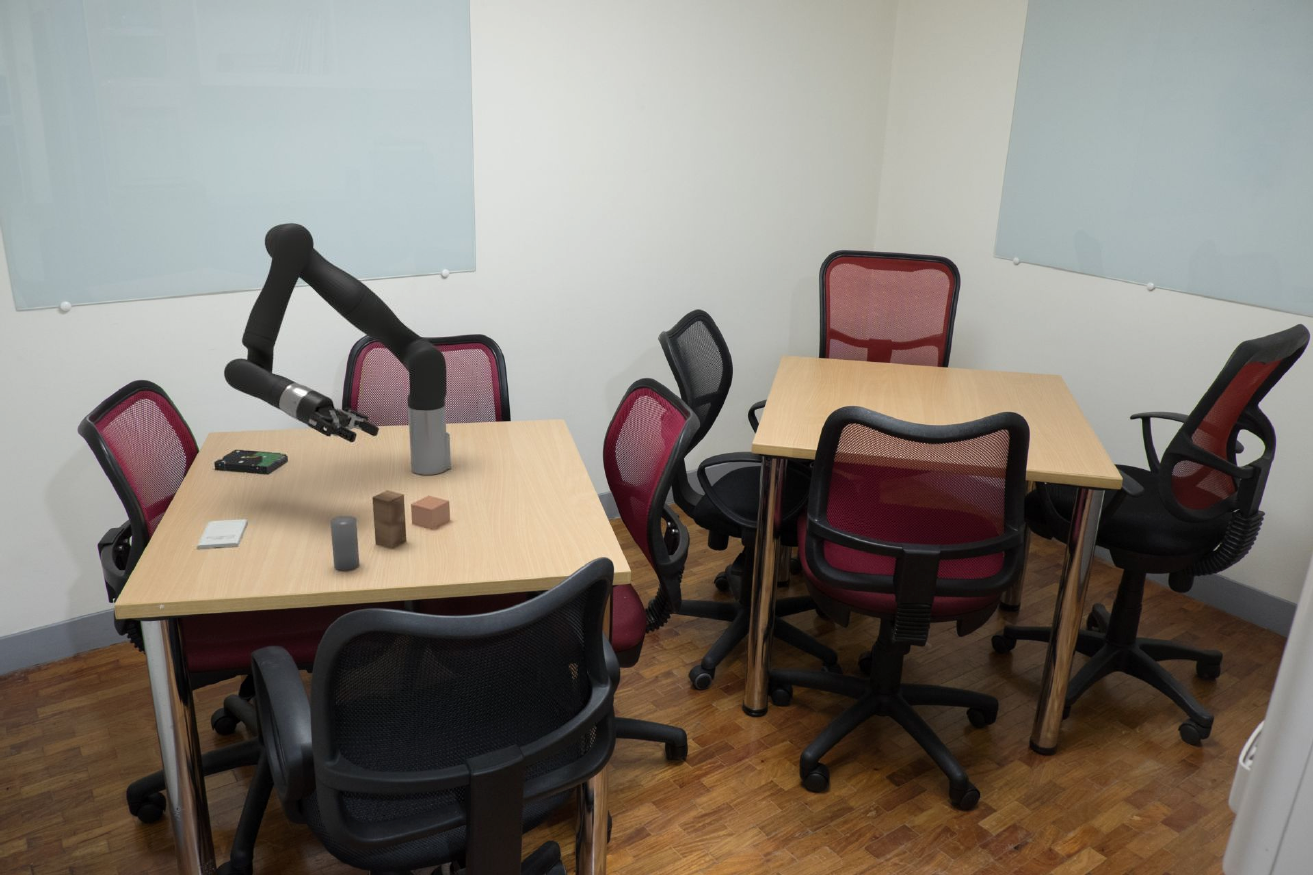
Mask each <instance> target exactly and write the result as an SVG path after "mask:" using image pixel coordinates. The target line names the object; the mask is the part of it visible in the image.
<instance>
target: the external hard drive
mask: <svg viewBox="0 0 1313 875" xmlns="http://www.w3.org/2000/svg"><path fill="white" fill-rule="evenodd" d="M247 526H248V519H246V518H245V519H244V518H243V519H239V518H238V519H225V520H211V521H207V524H206V526H205V529H204V530H203V532H202V535H201V537H200V538H199V541H198V543H197V545H196V550H206V549H208V550H209V549H216V548H217V549H219V548H222V549H224V548H237V547H239V545H240V544H241V543H240V542H241V540H242V538H243V536H244V533H245V531H246V529H245V528H247Z"/></svg>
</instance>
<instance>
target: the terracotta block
mask: <svg viewBox="0 0 1313 875" xmlns="http://www.w3.org/2000/svg"><path fill="white" fill-rule="evenodd" d="M450 510H451V508H450V500H449V499H444V498H440V497H435V496H432V495H427V496H424V497H423V498H420V499H419V500H417V501H415V502H413V503H411V504H410V511H411V514H410V515H411V524H412V525H415V526H418V527H421V528H424V529H428V528H430V529H429V530H433V531H434V530H435V529H436V527H437V528H439V527H441V526H442V524H443V525H445V524H446V522H447V523H448V522H450V521H451V511H450ZM444 523H445V524H444ZM440 525H441V526H440ZM438 526H439V527H438ZM434 528H435V529H434Z"/></svg>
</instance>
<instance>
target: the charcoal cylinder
mask: <svg viewBox="0 0 1313 875" xmlns="http://www.w3.org/2000/svg"><path fill="white" fill-rule="evenodd" d="M329 522H330V533H331V534H330V535H331V545H332V556H333V558H332V559H333V567H334V569H335V570H336V571H339V572H349V571H354V570H355V569H357V568H359V567H360V553H359V542H358V540H359V538H358V526H357V519H356V517H353V516H349V515H343V516H341V515H340V516H337V517H334V518H332V519H331V520H330V521H329Z"/></svg>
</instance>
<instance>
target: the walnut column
mask: <svg viewBox="0 0 1313 875" xmlns="http://www.w3.org/2000/svg"><path fill="white" fill-rule="evenodd" d="M371 498H372V511H373V514H372V515H373V527H374V539H375V540H374V541H375V545H376V546H380V547H384V548H387V549H390V550H393V549H395V548H396V547H398V546H401V545H403V544H405V543H407V525H406V508H405V494H403V493H399V492H395V491H392V490H390V489H389V490H384V491H383V492H381V493H378V494H376V495H374V496H372V497H371Z"/></svg>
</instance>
